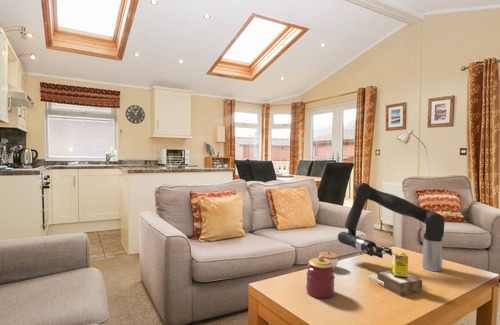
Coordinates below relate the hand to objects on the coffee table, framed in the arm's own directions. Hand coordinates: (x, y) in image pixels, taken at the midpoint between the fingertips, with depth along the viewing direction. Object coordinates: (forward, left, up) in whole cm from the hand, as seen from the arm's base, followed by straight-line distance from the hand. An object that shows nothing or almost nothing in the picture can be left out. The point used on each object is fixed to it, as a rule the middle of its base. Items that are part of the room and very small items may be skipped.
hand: (388, 255), depth 154 cm
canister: (+41, -1, -14) cm, 43 cm away
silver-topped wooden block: (0, +7, -14) cm, 16 cm away
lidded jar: (+18, -26, -14) cm, 34 cm away
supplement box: (0, +7, -8) cm, 11 cm away
